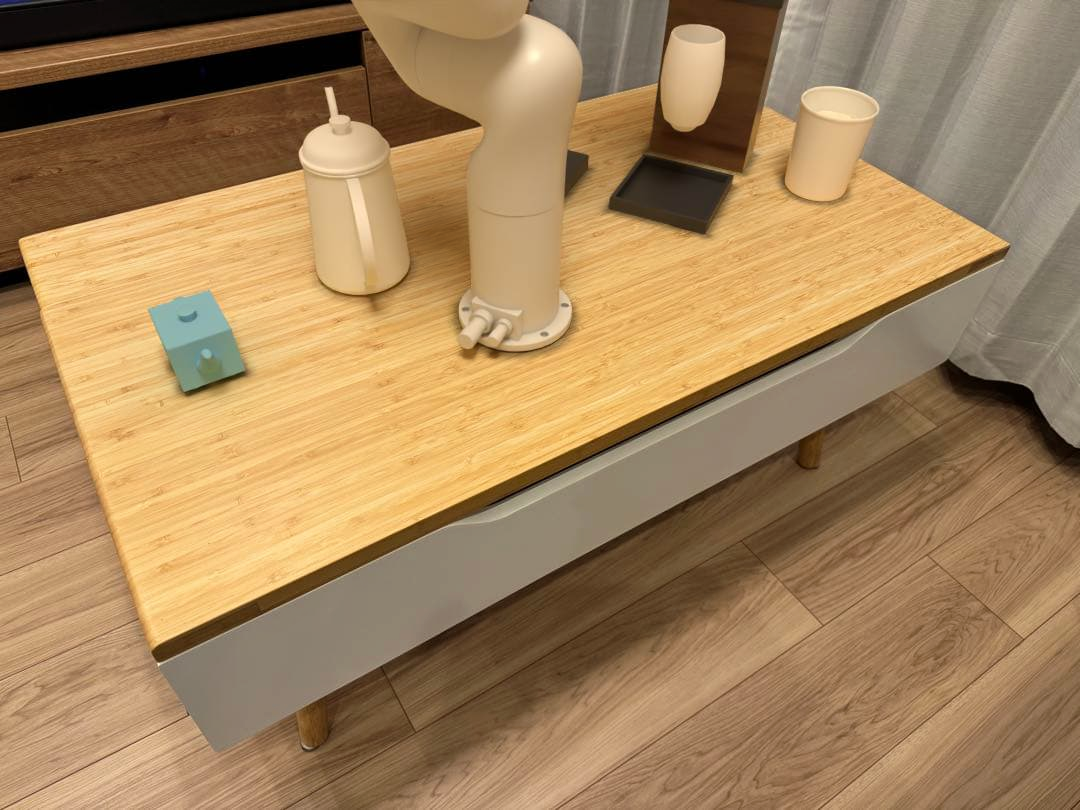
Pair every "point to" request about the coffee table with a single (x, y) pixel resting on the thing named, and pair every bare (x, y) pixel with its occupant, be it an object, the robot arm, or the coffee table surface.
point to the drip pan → (672, 193)
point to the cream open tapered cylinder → (828, 141)
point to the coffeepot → (353, 206)
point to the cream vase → (691, 75)
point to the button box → (574, 168)
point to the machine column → (725, 80)
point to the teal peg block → (197, 339)
